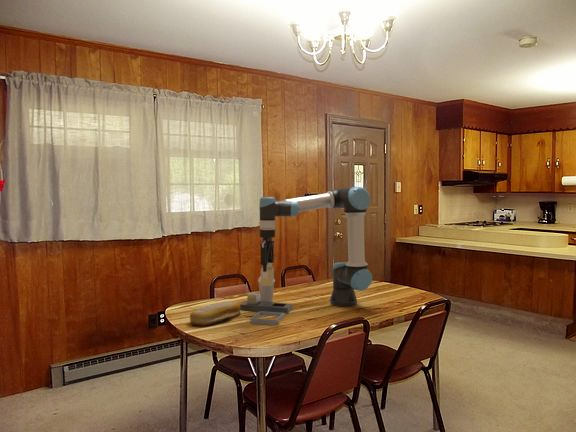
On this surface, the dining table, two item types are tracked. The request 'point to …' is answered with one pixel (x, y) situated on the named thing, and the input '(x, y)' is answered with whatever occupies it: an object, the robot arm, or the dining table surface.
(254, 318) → the parts tray
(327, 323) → the dining table surface
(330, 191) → the robot arm
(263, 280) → the tan rectangular block
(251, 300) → the grey rectangular block
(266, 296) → the coffee cup
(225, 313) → the bread
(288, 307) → the grey slotted holder
